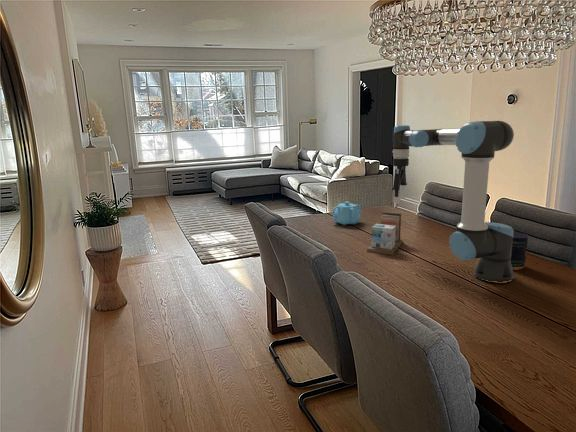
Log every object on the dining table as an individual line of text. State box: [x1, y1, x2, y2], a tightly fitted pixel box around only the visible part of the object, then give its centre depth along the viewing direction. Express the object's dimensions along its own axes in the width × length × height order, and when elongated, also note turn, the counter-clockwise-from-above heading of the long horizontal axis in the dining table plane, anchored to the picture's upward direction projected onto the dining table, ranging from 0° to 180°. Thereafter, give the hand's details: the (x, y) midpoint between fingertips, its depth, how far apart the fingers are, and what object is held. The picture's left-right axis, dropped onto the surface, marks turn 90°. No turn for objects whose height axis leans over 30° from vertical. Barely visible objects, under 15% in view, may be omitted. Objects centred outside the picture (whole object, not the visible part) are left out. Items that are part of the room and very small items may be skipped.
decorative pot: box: [331, 200, 362, 226], centre depth 275 cm, size 16×16×14 cm
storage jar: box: [511, 231, 529, 267], centre depth 197 cm, size 10×10×15 cm
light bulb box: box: [370, 223, 396, 249], centre depth 224 cm, size 11×7×11 cm, turn 63°
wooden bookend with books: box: [366, 211, 404, 256], centre depth 228 cm, size 22×13×16 cm, turn 153°
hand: (399, 200), depth 221 cm, fingers open, 13 cm apart
